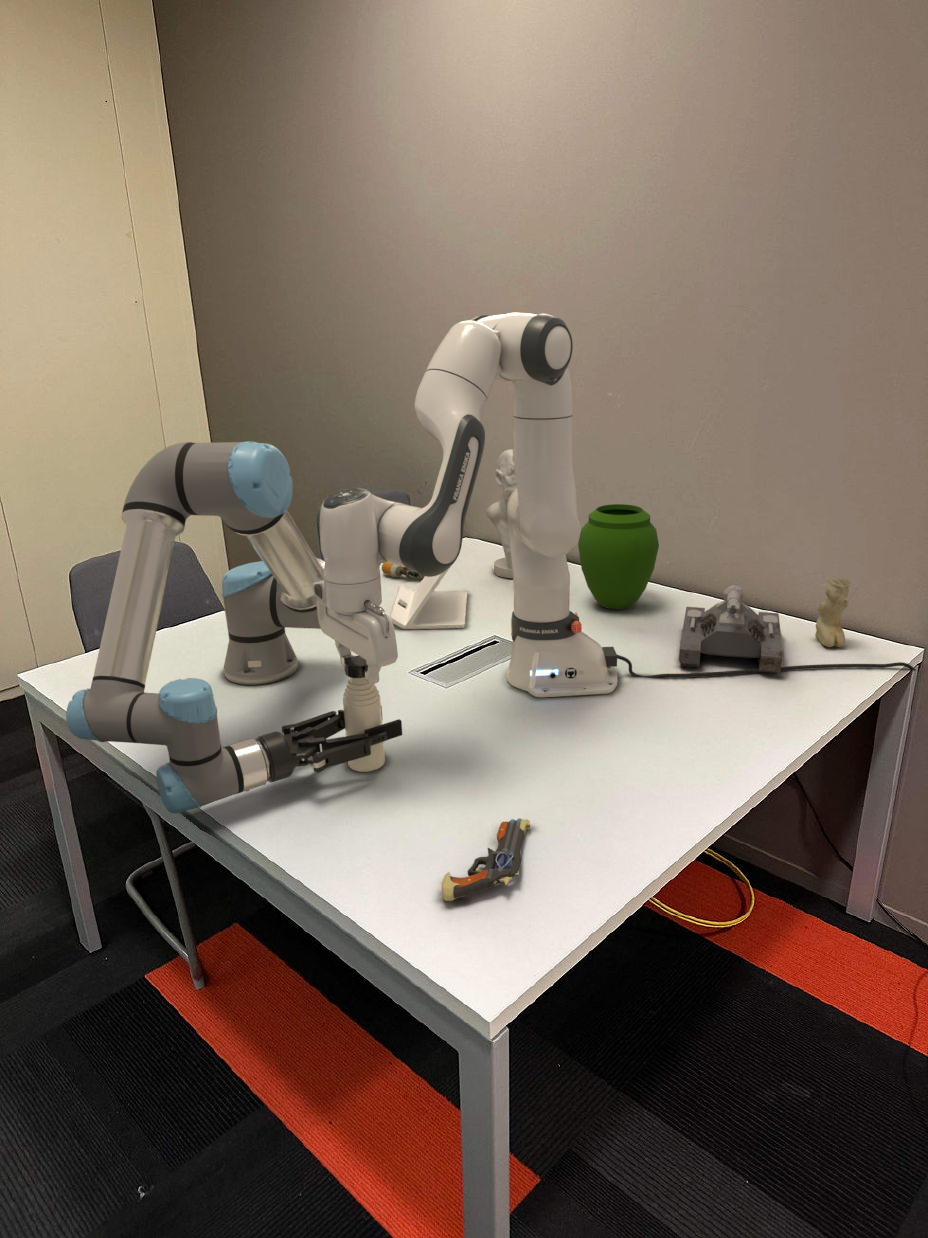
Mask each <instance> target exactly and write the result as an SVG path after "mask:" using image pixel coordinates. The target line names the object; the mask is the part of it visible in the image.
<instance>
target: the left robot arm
mask: <svg viewBox="0 0 928 1238" xmlns="http://www.w3.org/2000/svg"><path fill="white" fill-rule="evenodd" d="M293 491H294V482H293V477H292V476H291V468H290V464H289V462H288V461H287V459H286V457H285V455H284V454H283V453H282V451H280V449H279V448H277V447H276V446H274V445H272V444H271V443H266V442H256V441H251V440H250V441H249V440H248V441H238V442H237V441H233V442H232V441H228V442H226V441H224V442H223V441H222V442H219V441H218V442H191V441H184V442H183V441H182V442H177V443H174V444H171V445H168V446H167V447H164V448H163V449H161V450H160V451H158V452H156V453H155V454H154V455H153V456H152V457H151V458H150V459H149V460H148V461H147V462H146V463H145V464H144V465H143V467H141V469H140V470H139V472H138V473H137V474H136V476H135V478H134V480H133V481H132V484H131V485H130V487H129V490H128V491H127V494H126V497H125V499H124V503H123V507H122V512H121V515H120V516H121V517H120V518H121V520H122V521H123V523H124V524H125V529H124V530H125V531H124V534H123V535H124V536H123V539H122V544H121V548H120V552H119V558H118V563H117V567H116V572H115V576H114V581H113V585H112V590H111V594H110V599H109V604H108V608H107V611H106V612H107V613H106V616H105V621H104V627H103V630H102V635H101V640H100V645H99V649H98V654H97V659H96V662H95V667H94V672H93V676H92V681H91V684H90V688H86V689H85V688H83V689H79V690H78V691H76V692H75V693H74V694H73V695H72V696H71V700H70V701H68V703H67V706H66V712H65V714H66V715H65V717H66V724H67V727H68V730H69V731H70V733H71V734H72V735H73V736H74V737H77V739H82V740H89V741H97V742H99V743H108V742H113V743H127V744H129V743H130V744H143V745H155V746H166V748H167V752H168V758H169V762H167V763H165V764H163V765H160V766H159V767H158V768H157V769H156V772H155V775H156V784H157V789H158V793H159V796H160V798H161V801H162V804H163V805H164V807H165V809H166V810H167V811H168V812H169V813H171V814H179V813H183V812H187V811H191V810H194V809H201V808H202V807H204V806H206V805H209V804H212V803H215V802H217V801H220V800H223V799H226V798H229V797H232V796H234V795H238V794H241V793H243V792H249V791H250V790H253V789H256V788H259V787H262V786H266V784H267V783H275V782H278V781H281V780H284V779H287V778H289V777H291V776H292V775H293V772H294V771H295V769H296V768H297V767H306V766H308V765H309V766H311V767H313V773H320V772H322V771H324V770H327V769H328V768H331V767H334V766H338V765H341V764H345V763H348V761H352V760H355V759H359V758H362V757H365V756H369V755H371V746H372V745H375V744H378V743H381V742H383V743H384V742H386V741H390V740H392V739H396V738H398V737H401V736H403V722H402V720H401V719H400V718H398V719H395V720H392V721H389V722H386V723H382V725H379V726H376V727H373V728H370V729H367V730H365V734H358V735H352V736H346V735H345V736H338V737H333V738H330V737H332V736H334V735H336V734H338V733H339V732H342V731H343V730H345V720H344V709H338V710H337V711H335V710H331V711H328V712H325V713H323V714H319V715H317V716H314V717H311V718H308V719H305V720H302V721H299V722H296V723H291V724H286V725H282V726H281V731H277V730H276V731H272V732H269V733H265V734H262V735H259V736H257V737H256V739H254V738H248V739H245V740H242V741H239V742H236V743H233V744H229V745H226V746H222V742H221V735H220V727H219V720H218V719H219V718H218V707H217V705H216V702H215V701H216V700H215V697H214V692H213V689H212V686H211V684H210V683H209V682H208V681H206V680H204V679H202V678H196V677H187V678H184V679H181V678H178V679H175V680H172V681H170V682H168V683H166V684H164V685H163V686H162V687H161V688H160V690H159V692H145V690H146V684H147V678H148V674H149V673H148V672H149V669H150V664H151V659H152V658H151V657H152V653H153V649H154V644H155V639H156V635H157V629H158V625H159V619H160V615H161V611H162V605H163V600H164V595H165V591H166V586H167V580H168V576H169V571H170V566H171V562H172V557H173V553H174V548H175V547H174V546H175V542H176V537H178V536H179V535H181V534H183V533H184V531H185V527H186V521H187V519H189V517H190V516H208V517H209V516H210V517H219V518H220V519H221V520H222V523H224V525H225V526H226V527H227V528H228V529H229V530H230V531H232V532H233V533H236V534H237V535H241V536H244V537H245V538H246V539H247V541H248V542H249V544H250V545H251V546H252V548H253V549H254V551H255V552H256V554H257V555H258V557H259V558H260V561H254V562H248V563H245V564H241V565H238V566H235V567H233V568H231V569H230V570H228V571H227V572H225V573H224V574H223V576H222V579H221V588H222V589H221V591H222V593H221V597H222V600H223V607H224V613H225V621H226V627H227V634H228V643H227V648H226V654H225V657H224V663H223V672H224V677H225V679H226V680H228V681H230V682H232V683H234V684H239V685H245V686H247V685H249V686H255V685H256V686H257V685H258V686H259V685H265V684H272V683H275V682H278V681H281V680H284V679H287V678H289V677H290V676H292V675H293V674H294V673H295V672H297V670H298V667H299V665H298V657H297V655H296V653H295V650H294V648H293V646H292V644H291V642H290V640H289V637H288V636H287V633H286V628H289V629H291V628H293V629H312V630H313V629H315V630H316V629H317V630H321V628H320V625H319V621H318V614H317V606H316V598H317V596H315V595H314V593H313V583H315V582H318V581H322V580H324V570H325V560H324V559H321V558H318V557H316V556H315V554H314V552H313V550H312V549H311V547H310V546H309V544H308V542H307V541H306V539H305V537H304V535H303V534H302V532H301V530H300V528H299V527H298V526H297V524H296V522H295V520H294V518H293V517H292V515H291V513H290V511H289V510H288V509H289V508H290V506H291V503H292V500H293ZM382 707H383V706H382V705H381V714H382V715H383V708H382ZM382 721H383V718H382Z"/></svg>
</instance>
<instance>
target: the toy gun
mask: <svg viewBox="0 0 928 1238" xmlns="http://www.w3.org/2000/svg"><path fill="white" fill-rule="evenodd" d="M529 829H531V822H530V820H529V819H528V818H527V819H525V818H524V819H522V818H517V819H515V818H512V819H510V820H509V821H501V822H500V825H499V828H498V830H497V833H496V839H497V840H496V841H497V842H498V845H497V848H496V850H494V849H492V848H490V847H487V854H488V855H487V856H479V857H476V858H475V859H474V861H473V863H472V865H471V866H470V868H468V870H467V876H465V877H457V876H453V875H451V873H450V871H448V872H447V873H445V875H444V876H443V878H442V881H441V894H442V899H443V900H444V901H446V902H451V901H454V900H456V899H458V898H463V897H464V898H465V897H467V896H470V895H472V894H476V893H478V892H481V891H485V890H489V889H490V888H494V887H495V886H497V885H499V884H501V883H504V886H508V885H509V884H510V882H511V881H512V880H513V877H515V876H519V875H520V869H521V865H522V853H521V851H522V847H523V842H524V838H525V836H526V832H527V830H529ZM481 865H483V866H484V868H483V869H479V866H481ZM495 866H496V868H495Z"/></svg>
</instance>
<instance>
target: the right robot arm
mask: <svg viewBox="0 0 928 1238" xmlns="http://www.w3.org/2000/svg"><path fill="white" fill-rule="evenodd" d="M573 344H574V343H573V338H572V334H571V331H570V329H569V327H568V326H567V324H566V322H565V321H564V320H563V319H561V318H559V317H557V316H554V315H552V314H548V313H538V314H536V313H535V314H534V313H529V312H528V313H527V312H509V313H503V314H502V313H501V314H494V315H489V314H488V315H487V314H483V315H479V316H475V317H473V318H470V319H469V320H461V321H460V322H457V323H455V324H454V325H453V326H451V327H450V329H449V331H448V332H446V335H444V337H443V339H442V340H441V342H440V344H438V347H437V348H436V350H435V352H434V353H433V356H432V357H431V359H430V361H429V362H428V366H427V368H426V369H425V372H424V374H423V375H422V379H421V381H420V383H419V386H418V387H417V391H416V395H415V398H414V406H413V407H414V411H415V415H416V418H417V420H418V423H419V424H420V425H421V427H422V428H423V429H424V430H425V432H426V433H427V434H429V435H430V436H431V437H432V438H433V439H435V440H436V441H437V442H438V443H439V444H440V445H441V448H442V461H441V465H440V468H439V472H438V475H437V478H436V481H435V486H434V489H433V492H432V496H431V499H430V501H429V503H428V504H426V505H425V506H423V507H418V506H413V505H409V504H406V503H402V502H397V501H394V500H393V501H392V500H389V499H384V498H382V497H379V496H376V495H375V494H373V493H371V492H370V490H368V489H366V488H364V487H348V488H343V489H339V490H335V491H333V492H332V493H329V495H328V496H326V497H325V498H324V499H323V500H322V504H321V507H320V513H319V541H320V551H321V554H322V557H323V561H324V562H325V570H324V580H322V581H318V582H315V583H313V593H314V595H315V596H317V598H316V606H317V614H318V621H319V625H320V628H321V629H320V630H321V632H322V633H323V634H324V635H326V636H328V637H329V638H330V639H332V640H334V644H335V647H336V650H337V653H338V655H339V661H340V665H341V666H343V667H345V666H344V665H345V660H346V659H347V658H349V657H352V656H354V654H356V656H360V657H362V658H363V659H365V660H366V664H367V665H368V671H366V672H365V680H366V681H367V682H368V683H370V684H378V683H379V682H380V671H381V668H383V667H387V666H390V665H393V664H395V663H396V662H397V660H398V657H399V651H398V643H397V636H396V629H395V625H394V623H393V622H392V620H391V618H390V615H387V614H386V611H385V609H384V608H383V606H380V605H382V603H383V594H382V593H383V592H382V579H381V578H382V577H381V569H380V567H381V566H382V564H383V563H384V562H389V563H392V564H396V565H399V566H402V567H406V568H408V569H410V570H412V571H414V572H417V573H419V574H421V575H423V577H425V576H427V577H433V576H437V575H439V574H441V573H443V572H444V571H446V570H447V569H448V568H449V567H450V568H451V567H452V566H453V565H454V564H455V562H456V561H457V559H458V558H459V555H460V553H461V549H462V545H463V537H464V527H465V523H466V522H465V520H466V517H467V514H468V510H469V505H470V502H471V499H472V495H473V492H474V487H475V484H476V481H477V477H478V474H479V471H480V466H481V462H482V459H483V458H482V457H483V454H484V451H485V450H484V449H485V443H486V431H485V428H484V425H483V424H482V419H483V413H484V409H485V406H486V404H487V401H488V399H489V396H490V394H491V391H492V388H493V386H494V383H495V380H497V381H504V382H505V381H506V382H512V384H513V388H514V389H513V399H512V449H513V462H514V467H515V474H516V482H517V488H516V489H515V490H514V491H513V492H512V494H511V495H510V497H509V500H508V504H507V514H508V528H509V540H510V551H511V559H512V567H513V578H512V579H513V611H512V612H511V618H510V635H511V640H512V645H511V646H512V647H511V655H510V660H509V665H508V669H507V672H506V675H505V678H506V681H507V683H509V684H510V685H511V686H513V687H515V688H517V689H519V690H522V691H525V692H527V693H529V694H530V695H531V696H533V697H535V698H556V697H572V696H573V697H574V696H588V695H589V696H590V695H591V696H592V695H607V694H611V693H612V692H613V691H615V690H616V688H617V686H618V673H617V670H616V668H615V667H618V660H621V661H623V662H625V663H626V664H627V665H628V673H629V674H630V676H632V677H633V678H646V679H662V678H692V677H693V678H694V677H697V678H698V677H712V676H713V677H715V676H728V675H730V676H731V675H742V674H743V675H744V674H753V673H760V672H759V668H751V669H750V668H749V669H737V670H723V671H708V672H707V671H705V672H685V673H659V674H652V675H641V674H638V673H636V672H634V671H633V664H632V661H631V660H629V658H627V657H625V656H622V655H619V654H617V652H616V649H615V647H614V646H602V645H601V644H600V643H599V642H598V641H596V640H595V639H593V638H591V637H590V636H589V635H587V634H586V633H585V632H583V631H582V630H583V626H582V625H583V624H582V622H581V621H580V616H579V615H578V612H577V611H575V613H574V612H573V611H571V610H570V590H571V589H570V586H571V585H570V584H571V575H570V570H569V565H568V560H567V554H569V553H570V552H571V551H573V549H574V548H575V547H576V546H577V545H578V542H579V538H580V533H581V529H582V527H581V521H580V516H579V510H578V509H579V508H578V498H577V497H578V496H577V487H576V479H575V471H574V470H575V469H574V462H573V460H574V459H573V443H574V441H573V440H574V438H573V437H574V436H573V435H574V433H573V432H574V431H573V430H574V425H573V424H574V395H573V385H572V377H571V372H570V367H569V364H570V363H571V360H572V356H573V355H572V354H573V347H574V345H573ZM450 568H449V569H450ZM352 652H353V653H354V654H352ZM893 667H905V668H908V669H909V670H910V671H916V669H915V667H914V666H913V665H911V664H909V663H907V662H899V661H898V662H890V663H889V662H888V663H828V664H827V663H825V664H824V663H823V664H806V665H805V664H802V665H789V666H787V665H786V666H782V667H781V671H792V670H793V671H794V670H809V669H833V668H880V669H881V668H882V669H883V668H893Z"/></svg>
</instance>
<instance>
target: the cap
mask: <svg viewBox="0 0 928 1238" xmlns="http://www.w3.org/2000/svg"><path fill="white" fill-rule="evenodd" d="M343 667H344V674H345V676H347V678H349V679H350V678H364V677H365V672H366V671H368V665H367V664H366V660H365V659H363V658H362V657H360V656H359V655H353V656H352V657H349V658H347V659H346V660H345V665H344V666H343Z"/></svg>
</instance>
